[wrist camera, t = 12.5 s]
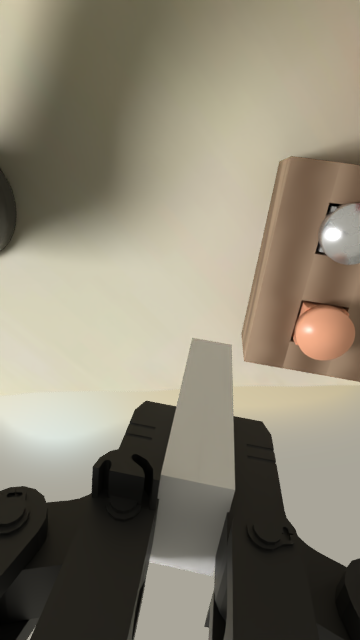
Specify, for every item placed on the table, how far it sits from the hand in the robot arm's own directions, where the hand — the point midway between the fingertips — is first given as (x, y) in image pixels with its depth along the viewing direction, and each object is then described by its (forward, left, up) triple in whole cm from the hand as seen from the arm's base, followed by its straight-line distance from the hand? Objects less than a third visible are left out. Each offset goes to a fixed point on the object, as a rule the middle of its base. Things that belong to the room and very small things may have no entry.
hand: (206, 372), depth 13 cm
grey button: (+12, +4, -30) cm, 33 cm away
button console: (+12, -1, -32) cm, 35 cm away
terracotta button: (+12, -6, -29) cm, 32 cm away
